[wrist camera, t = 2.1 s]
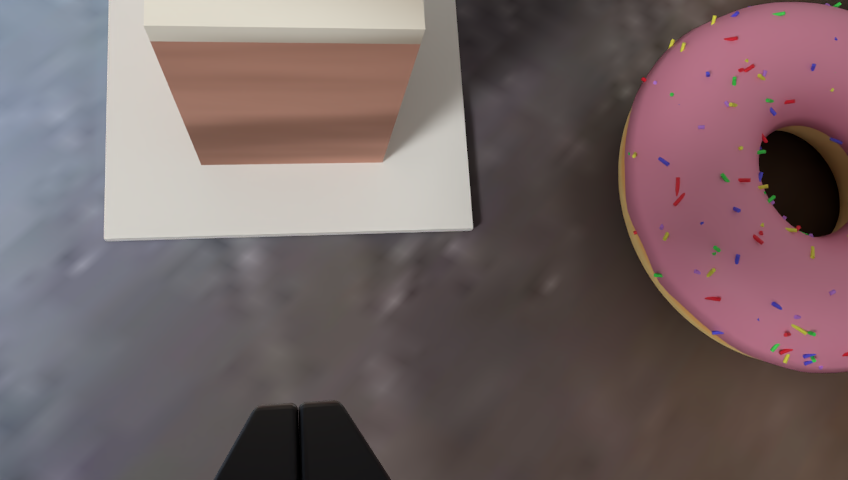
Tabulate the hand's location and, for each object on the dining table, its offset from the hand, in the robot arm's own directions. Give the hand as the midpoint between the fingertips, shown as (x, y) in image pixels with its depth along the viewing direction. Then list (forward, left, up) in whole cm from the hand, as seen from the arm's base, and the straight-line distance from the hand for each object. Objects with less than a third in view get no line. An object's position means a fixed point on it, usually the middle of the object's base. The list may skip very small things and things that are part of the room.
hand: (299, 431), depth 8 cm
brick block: (+8, -5, -13) cm, 16 cm away
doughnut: (-4, -15, -14) cm, 21 cm away
